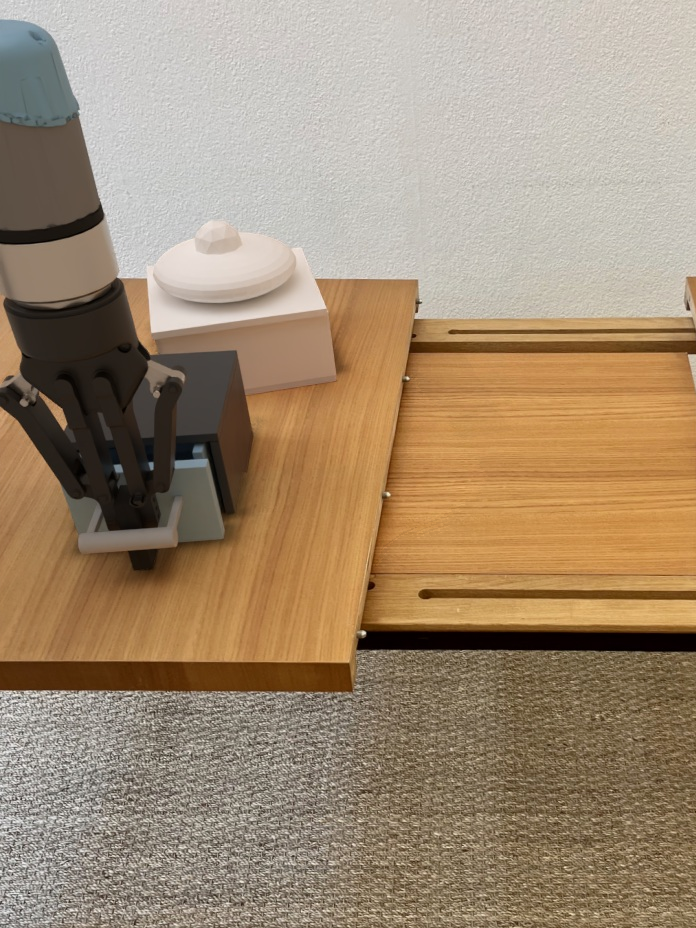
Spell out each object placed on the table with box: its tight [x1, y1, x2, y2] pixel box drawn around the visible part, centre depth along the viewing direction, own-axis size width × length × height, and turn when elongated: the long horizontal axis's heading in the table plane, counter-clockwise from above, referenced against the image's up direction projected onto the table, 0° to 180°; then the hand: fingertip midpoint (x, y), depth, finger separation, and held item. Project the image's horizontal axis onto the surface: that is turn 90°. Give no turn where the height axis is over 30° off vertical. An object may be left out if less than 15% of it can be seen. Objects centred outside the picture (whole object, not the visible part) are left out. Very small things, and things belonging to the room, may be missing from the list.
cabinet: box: [63, 350, 254, 515], centre depth 86 cm, size 15×13×10 cm
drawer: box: [59, 442, 226, 555], centre depth 80 cm, size 19×11×8 cm, turn 7°
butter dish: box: [145, 220, 338, 396], centre depth 103 cm, size 18×18×16 cm
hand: (146, 559), depth 77 cm, fingers closed
